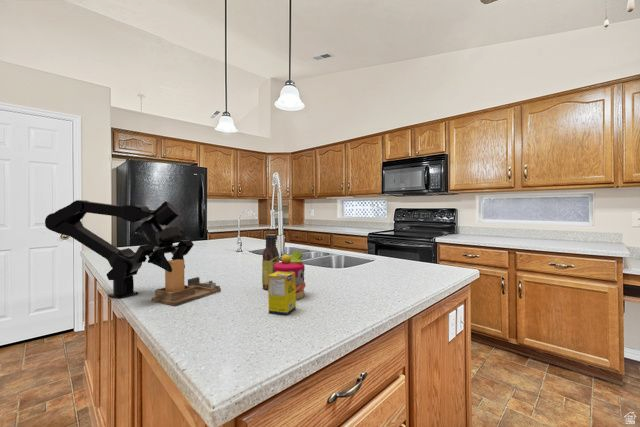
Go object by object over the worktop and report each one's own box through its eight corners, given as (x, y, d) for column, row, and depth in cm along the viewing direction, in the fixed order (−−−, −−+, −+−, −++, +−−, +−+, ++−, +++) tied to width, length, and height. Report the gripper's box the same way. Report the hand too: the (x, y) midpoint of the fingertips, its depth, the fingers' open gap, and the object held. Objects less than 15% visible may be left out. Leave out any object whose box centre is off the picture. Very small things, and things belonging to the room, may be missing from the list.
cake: (292, 303, 94) (292, 255, 94) (266, 298, 100) (266, 252, 100) (311, 295, 103) (310, 251, 103) (286, 290, 109) (286, 249, 108)
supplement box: (296, 308, 89) (295, 272, 89) (287, 315, 83) (287, 276, 83) (277, 306, 91) (277, 270, 91) (268, 313, 85) (267, 274, 85)
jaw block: (165, 291, 98) (165, 261, 98) (177, 288, 102) (176, 259, 102) (172, 293, 96) (172, 262, 96) (184, 290, 100) (184, 260, 100)
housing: (151, 301, 97) (151, 288, 97) (198, 287, 113) (198, 276, 113) (175, 306, 92) (175, 293, 92) (220, 291, 108) (220, 280, 108)
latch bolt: (202, 288, 107) (202, 280, 107) (207, 287, 109) (207, 279, 109) (210, 290, 105) (210, 282, 105) (215, 288, 108) (215, 280, 107)
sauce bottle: (275, 290, 108) (275, 235, 108) (259, 289, 110) (259, 235, 109) (281, 286, 115) (281, 233, 114) (266, 285, 116) (265, 233, 116)
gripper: (138, 219, 92) (162, 258, 87) (190, 217, 109) (212, 250, 104) (123, 243, 96) (145, 282, 91) (175, 238, 112) (196, 270, 108)
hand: (177, 269), depth 98 cm, fingers closed on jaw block, 4 cm apart
